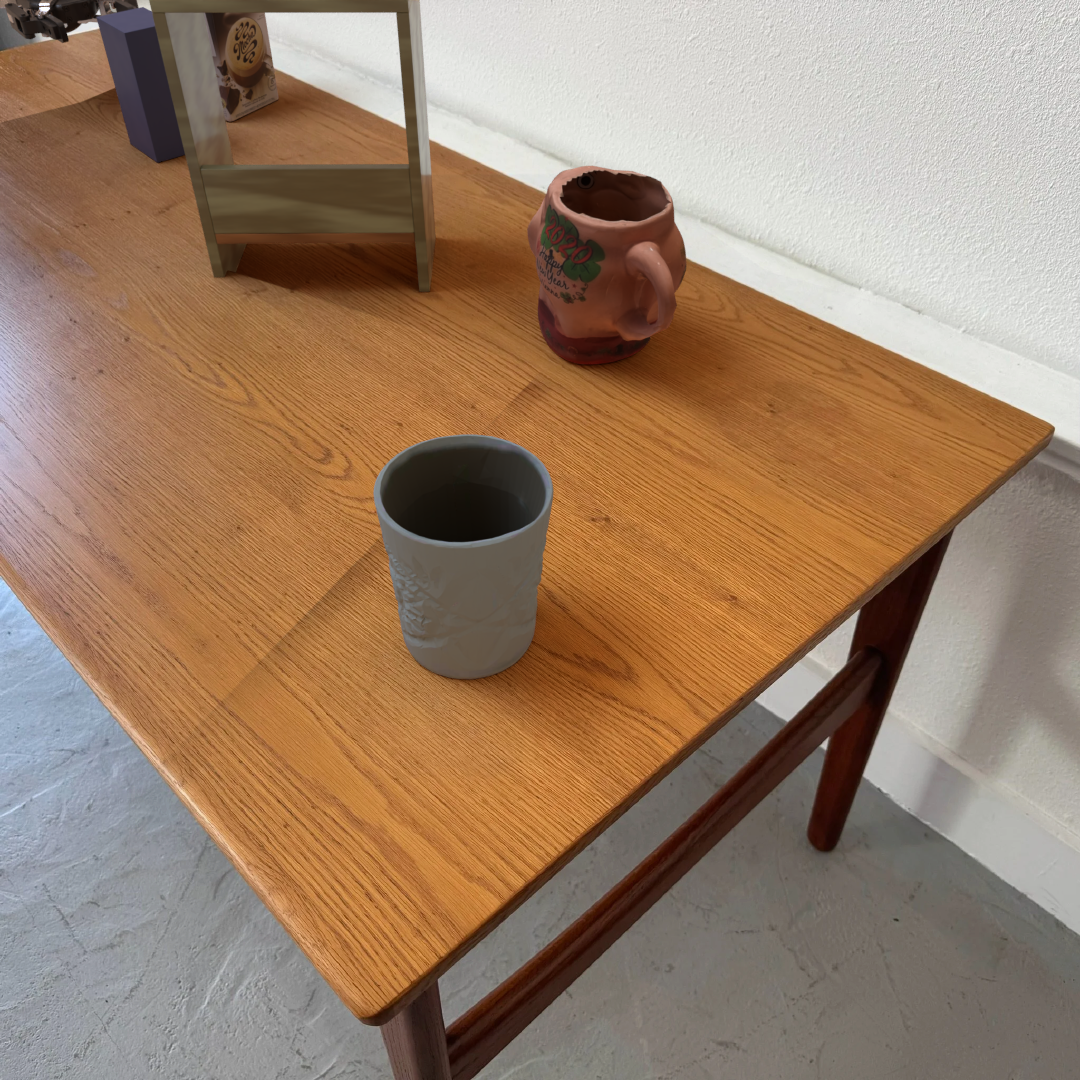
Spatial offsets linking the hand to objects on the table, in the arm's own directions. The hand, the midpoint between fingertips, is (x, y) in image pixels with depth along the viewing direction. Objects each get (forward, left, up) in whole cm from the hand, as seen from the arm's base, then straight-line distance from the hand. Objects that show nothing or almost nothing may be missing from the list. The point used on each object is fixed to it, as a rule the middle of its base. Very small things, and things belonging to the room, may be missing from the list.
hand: (99, 25), depth 120 cm
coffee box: (+9, +10, -11) cm, 18 cm away
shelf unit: (+44, -17, -11) cm, 49 cm away
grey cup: (+81, -51, -11) cm, 97 cm away
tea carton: (+10, -4, -11) cm, 15 cm away
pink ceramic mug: (+74, -17, -11) cm, 77 cm away
